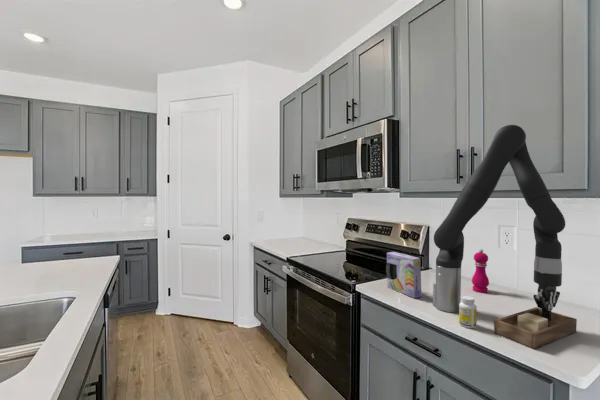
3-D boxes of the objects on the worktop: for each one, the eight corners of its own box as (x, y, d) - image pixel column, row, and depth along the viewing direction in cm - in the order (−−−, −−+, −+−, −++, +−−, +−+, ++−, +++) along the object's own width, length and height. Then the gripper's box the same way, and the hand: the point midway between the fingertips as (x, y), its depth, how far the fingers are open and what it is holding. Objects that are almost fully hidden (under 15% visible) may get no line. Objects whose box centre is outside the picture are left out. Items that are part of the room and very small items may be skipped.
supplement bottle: (470, 322, 112) (471, 295, 112) (479, 328, 107) (480, 300, 106) (455, 322, 112) (456, 295, 112) (464, 328, 106) (464, 300, 106)
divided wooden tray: (494, 333, 103) (494, 319, 103) (535, 319, 115) (536, 307, 115) (534, 349, 93) (535, 334, 92) (576, 332, 105) (576, 319, 104)
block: (517, 326, 104) (517, 315, 104) (527, 322, 107) (527, 312, 107) (537, 333, 99) (538, 322, 99) (547, 329, 102) (547, 318, 102)
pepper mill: (487, 289, 150) (488, 248, 150) (489, 294, 143) (490, 251, 143) (470, 287, 153) (471, 247, 153) (472, 292, 146) (473, 249, 146)
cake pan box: (384, 286, 154) (385, 251, 153) (392, 285, 156) (393, 250, 155) (413, 299, 136) (414, 259, 135) (422, 297, 138) (422, 258, 137)
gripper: (544, 265, 113) (543, 313, 113) (524, 269, 107) (523, 319, 107) (570, 270, 106) (568, 320, 107) (550, 275, 100) (549, 328, 101)
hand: (546, 320), depth 107 cm, fingers closed
